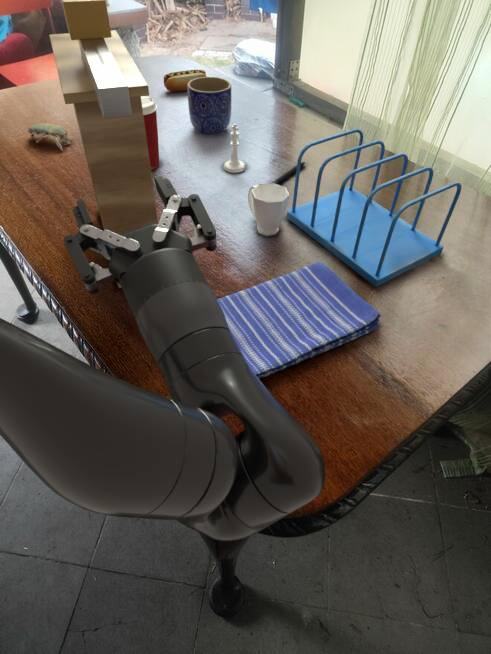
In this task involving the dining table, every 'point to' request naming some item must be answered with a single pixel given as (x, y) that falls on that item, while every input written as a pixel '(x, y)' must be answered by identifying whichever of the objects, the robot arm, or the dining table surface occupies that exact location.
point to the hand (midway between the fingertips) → (120, 193)
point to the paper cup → (151, 130)
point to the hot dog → (181, 79)
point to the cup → (268, 206)
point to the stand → (110, 137)
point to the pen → (287, 174)
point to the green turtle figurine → (49, 132)
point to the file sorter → (368, 220)
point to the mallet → (98, 54)
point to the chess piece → (234, 154)
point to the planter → (209, 104)
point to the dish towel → (296, 318)
